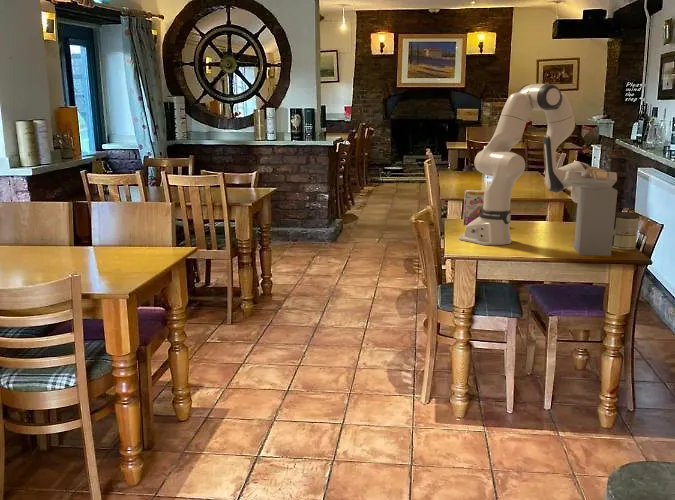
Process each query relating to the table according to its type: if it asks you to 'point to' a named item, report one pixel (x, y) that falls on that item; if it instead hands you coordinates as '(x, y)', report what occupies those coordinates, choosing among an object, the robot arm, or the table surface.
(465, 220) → the candy bar box
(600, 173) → the beech bar
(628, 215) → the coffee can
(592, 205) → the pedestal
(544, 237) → the table surface
